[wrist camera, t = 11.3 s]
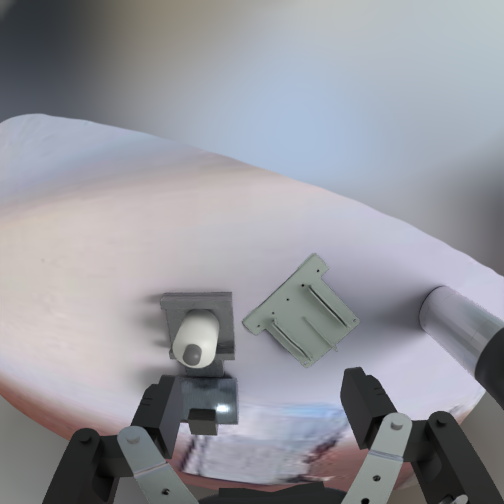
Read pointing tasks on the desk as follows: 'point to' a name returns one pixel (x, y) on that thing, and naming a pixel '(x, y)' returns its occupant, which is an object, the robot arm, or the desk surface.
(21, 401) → the desk surface
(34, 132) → the desk surface
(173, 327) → the motor
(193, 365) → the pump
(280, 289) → the metal bracket
